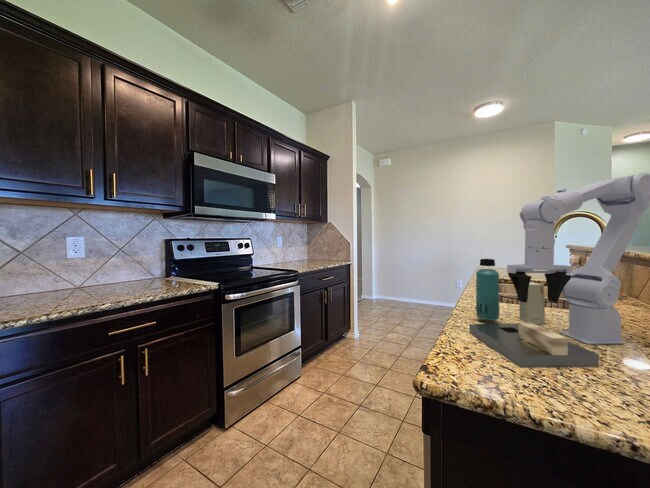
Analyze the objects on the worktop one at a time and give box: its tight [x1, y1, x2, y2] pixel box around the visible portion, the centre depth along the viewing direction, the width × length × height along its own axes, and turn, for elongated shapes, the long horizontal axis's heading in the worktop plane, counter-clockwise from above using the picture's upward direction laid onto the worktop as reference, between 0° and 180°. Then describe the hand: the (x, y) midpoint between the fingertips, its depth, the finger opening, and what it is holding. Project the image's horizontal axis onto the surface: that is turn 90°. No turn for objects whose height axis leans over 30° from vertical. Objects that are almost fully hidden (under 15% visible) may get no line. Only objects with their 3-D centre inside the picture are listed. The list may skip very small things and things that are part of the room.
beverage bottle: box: [475, 258, 501, 321], centre depth 84 cm, size 6×7×20 cm
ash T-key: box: [517, 322, 569, 355], centre depth 60 cm, size 10×3×6 cm, turn 179°
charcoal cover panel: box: [469, 323, 600, 368], centre depth 65 cm, size 16×20×3 cm
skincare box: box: [518, 281, 546, 326], centre depth 84 cm, size 6×4×12 cm
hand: (537, 301), depth 68 cm, fingers open, 7 cm apart
